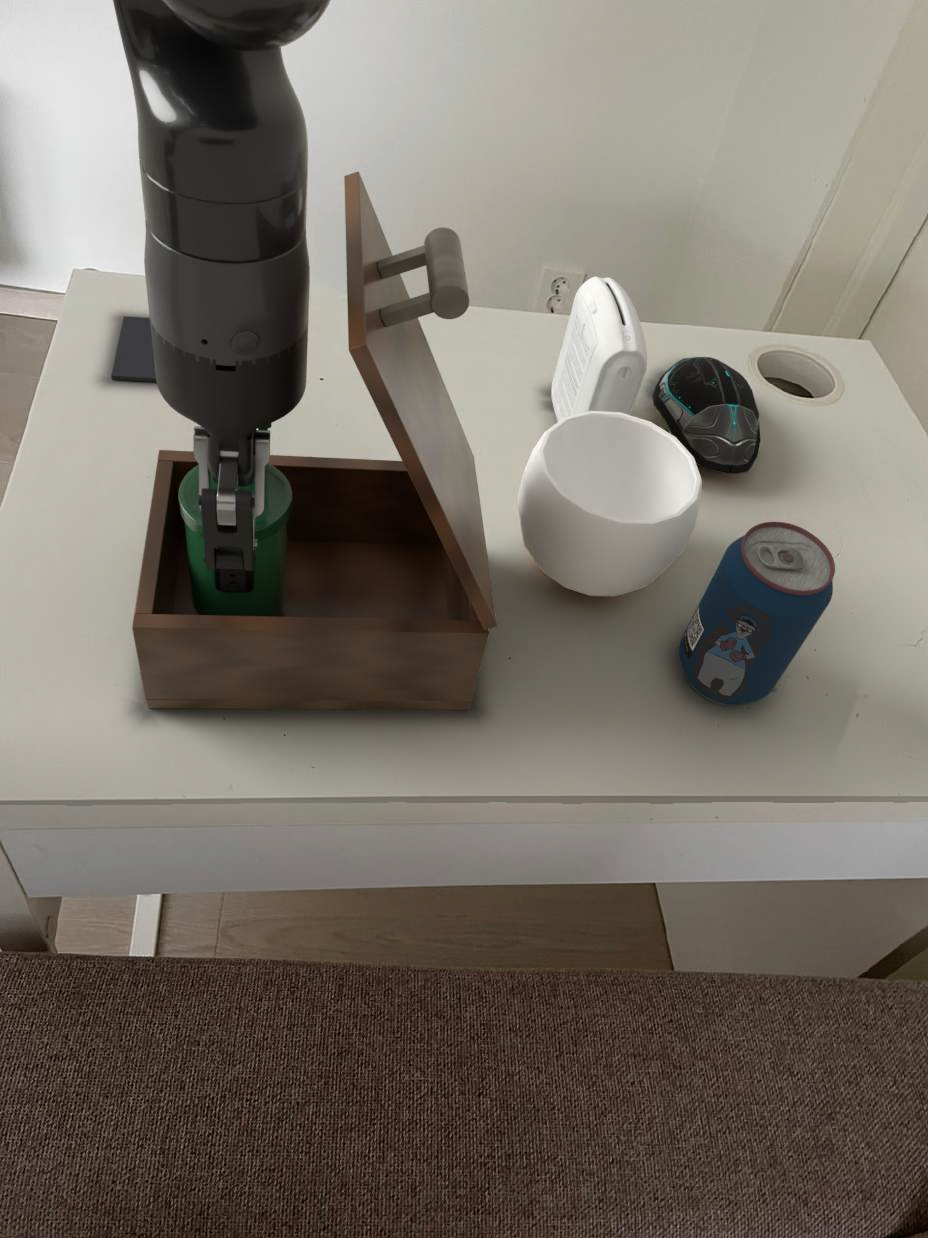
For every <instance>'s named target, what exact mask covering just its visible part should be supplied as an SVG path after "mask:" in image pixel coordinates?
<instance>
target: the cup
mask: <svg viewBox="0 0 928 1238" xmlns="http://www.w3.org/2000/svg"><path fill="white" fill-rule="evenodd" d="M702 486H703V478H702V476H701V473H700V471H699V468H698V464H697V463H696V462H695V459H694V457H693V456H692V455H691V454H690V453H689V451H688V450H687V449H686V448H685V447H684V446H683V445H682V444H681V443H680V441H679V440H678V439H677V438H676V437H675V436H674V435H673V434H671V433H670V432H668V431H666V430H665V429H664V428H662V427H660V426H658V425H656V424H655V423H654V422H651V421H650V420H646V419H643V418H640V417H637V416H635V415H632V414H631V415H627V414H624V413H621V412H603V411H588V412H584V413H580V414H576V415H572V416H568V417H564V418H563V419H561V420H560V421H559V422H556V423H555V424H554V425H553V424H552V426H550V428H548V429H546V430H545V431H544V432H543V434H542V435H541V437H540V439H539V440H538V442H537V443H536V444H535V446H534V447H533V449H532V450H531V453H530V456H529V458H528V461H527V463H526V466H525V468H524V470H523V474H522V477H521V482H520V485H519V490H518V494H517V498H516V501H517V502H516V503H517V508H518V517H519V524H520V529H521V535H522V541H523V546H524V547H525V548H526V550H527V552H528V553H529V555H530V556H531V557H532V559H533V560H534V561H535V563H536V564H537V565H538V567H539V568H540V570H541V571H542V572H543V574H544V575H546V576H548V577H549V578H550V579H552V580H553V581H555V582H556V583H558V584H559V585H560V586H562V587H563V588H565V589H567V590H571V591H573V592H576V593H579V594H583V595H587V596H589V597H616V596H621V595H625V594H628V593H631V592H635V591H637V590H639V589H643V588H646V587H648V586H650V585H651V584H652V583H654V581H656V580H657V578H658V577H659V576H661V574H662V573H664V572H665V571H666V570H667V569H668V568H669V567H670V566H671V565H672V564H673V563H674V562H675V561H676V560H677V559H678V558H679V557H680V556H681V555H682V554H683V553H684V552H685V549H686V548H687V545H688V544H689V540H690V538H691V536H692V534H693V532H694V529H695V528H696V524H697V519H698V515H699V512H700V511H699V510H700V507H701V498H702Z"/></svg>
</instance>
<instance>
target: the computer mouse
mask: <svg viewBox="0 0 928 1238" xmlns="http://www.w3.org/2000/svg"><path fill="white" fill-rule="evenodd" d="M652 400H653V406H654V407H655V408H656V409H657V411H658V412H659V413H660V415H661V416H662V418H663V420H664V422H665V423H666V425H667V427H668V429H669V431H670V432H671V433H672V435H673V436H675V437H676V438H677V439H678V440H679V441H680V443H681V444H682V445H683V446H684V447H685V448H686V449H687V450H688V451H689V453H690V454H691V455H692V456H693V457H694V459H695V462H696V465H697V466H699V467H700V468H702V469H706V470H709V471H713V472H716V473H717V472H718V473H721V474H730V475H739V474H743V473H748V472H749V471H750V470H751V468H752V466H753V464H754V463H755V462H756V460H757V459H758V455H759V450H760V446H761V440H762V439H761V438H762V437H761V429H760V412H759V409H758V407H757V402H756V400H755V396H754V392H753V389H752V388H751V385H750V383H748V380H747V379H746V378H745V377H744V376H743V375H742V374H741V373H740V372H739V371H737V370H736V369H734V368H732V367H731V366H729V365H728V364H726V363H725V362H723V361H721V360H719V359H718V358H713V357H709V356H693V357H684V358H681V359H680V360H678V361H677V362H675V363H674V364H672V365H671V366H670V367H669V368H668V369H667V370H665V372H664V373H663V374H662V375H661V377H660V378H659V380H658V381H657V383H656V385H655V387H654V390H653V393H652Z"/></svg>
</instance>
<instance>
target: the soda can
mask: <svg viewBox="0 0 928 1238" xmlns="http://www.w3.org/2000/svg"><path fill="white" fill-rule="evenodd" d="M835 574H836V564H835V560H834V557H833V555H832V553H831V552H830V550H829V548H828V547H827V545H825V544H824V542H823V541H821V540H820V538H818V536H816V535H814V534H813V533H811V532H810V531H808V530H806V529H804V528H802V527H800V526H798V525H797V524H792V523H789V522H785V521H784V522H783V521H767V522H765V521H764V522H761V523H758V524H756V525H753V526H752V527H751V528H750V529H748V530H747V531H746V533H745V534H744V535H742V536H740V537H739V538H736V539H735V540H733V541H732V542H731V543H730V545H728V546H727V548H726V549H725V551H724V553H723V555H722V558H721V559H720V561H719V563H718V565H717V567H716V569H715V572H713V575H712V577H711V579H710V581H709V583H708V585H707V588H706V589H705V591H704V593H703V595H702V597H701V599H700V601H699V603H698V605H697V607H696V609H695V610H694V613H693V614H692V617H691V618H690V620H689V622H688V624H687V627H686V628H685V631H684V632H683V634H682V636H681V638H680V641H679V645H678V658H679V659H678V660H679V663H680V666H681V669H682V672H683V674H684V677H685V678H686V680H687V682H688V683H689V685H690V686H691V688H692V689H693V690H694V691H695V692H697V694H699V695H700V696H702V698H705V699H706V700H709V701H711V702H713V703H715V704H719V705H723V706H741V705H747V704H751V703H754V702H757V701H760V700H762V699H764V698H766V697H767V696H768V695H769V694H771V692H772V691H773V690H774V689H775V687H776V686H777V684H778V682H779V681H780V680H781V678H782V676H783V674H784V673H785V672H786V670H787V669H788V667H789V665H790V664H791V663H792V661H793V659H794V658H795V656H796V655H797V653H798V652H799V650H800V649H801V647H802V646H803V644H804V643H805V642H806V639H807V638H808V636H809V635H810V634H811V632H812V631H813V629H814V627H815V626H816V625H817V623H818V622H819V620H820V619H821V617H822V615H823V614H824V612H825V610H826V609H827V608H828V607H829V604H830V603H831V601H832V599H833V594H834V592H833V591H834V582H833V580H834V577H835Z"/></svg>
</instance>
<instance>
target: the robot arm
mask: <svg viewBox="0 0 928 1238" xmlns="http://www.w3.org/2000/svg"><path fill="white" fill-rule="evenodd" d="M112 3H113V7H114V11H115V12H114V13H115V16H116V21H117V26H118V30H119V35H120V39H121V42H122V47H123V52H124V56H125V60H126V63H127V67H128V72H129V75H130V80H131V85H132V90H133V96H134V102H135V109H136V118H137V147H138V160H139V163H138V164H139V171H140V183H141V192H142V201H143V202H142V203H143V211H144V212H143V213H144V218H145V219H144V222H145V237H144V238H145V240H144V256H143V257H144V260H143V263H144V264H143V266H144V276H145V285H146V287H145V288H146V296H147V305H148V306H147V307H148V315H149V318H150V325H151V334H152V344H153V353H154V363H155V373H156V381H157V382H156V385H157V388H158V391H159V394H160V395H161V397H162V398H163V400H164V401H165V402H166V403H167V405H169V407H170V408H172V410H174V411H175V412H176V413H178V414H179V415H181V416H182V417H184V418H186V419H188V420H190V421H191V422H193V423H195V424H197V425H198V426H197V425H195V426H194V427H193V435H192V436H193V442H192V443H193V451H194V458H195V459H196V461H197V462H198V464H199V497H198V504H199V507H200V510H201V514H202V525H203V536H204V547H205V553H204V563H206V568H207V569H209V570H214V579H215V588H216V589H217V590H218V591H220V592H232V593H249V592H251V591H252V590H253V589H254V564H255V565H256V555H254V554H255V548H257V545H258V539H255V518H256V517H257V516H259V515H261V514H262V513H263V511H264V504H265V466H266V465H267V463H268V462H269V459H270V455H271V430H270V428H272V423H274V422H277V421H278V420H281V419H282V418H284V417H285V416H287V415H289V414H290V413H291V412H292V411H293V410H294V409H295V408H296V407H297V406H298V405H299V403H300V402H301V400H302V399H303V397H304V394H305V391H306V387H307V375H308V373H307V371H308V347H309V346H308V345H309V344H308V342H309V313H310V286H311V285H310V283H311V282H310V281H311V280H310V279H311V269H310V268H311V267H310V257H309V249H308V241H307V240H308V239H307V212H308V211H307V209H308V207H307V206H308V180H309V179H308V171H309V143H308V142H309V141H308V131H307V123H306V118H305V116H304V111H303V108H302V105H301V103H300V100H299V98H298V95H297V94H296V90H295V89H294V86H293V85H292V82H291V80H290V78H289V75H288V73H287V69H286V66H285V63H284V58H283V53H282V47H285V46H287V45H290V44H292V43H294V42H296V41H297V40H299V39H301V37H303V36H305V35H306V33H308V32H309V31H310V30H311V29H312V28H313V27H315V25H316V24H317V22H319V21H320V19H321V17H322V16H323V15H324V14H325V11H326V10H327V8H328V6H329V5H330V3H331V0H112ZM254 468H255V492H254V493H253V494H252V490H238V487H246V486H248V485H250V484H252V481H253V478H254ZM210 472H211V475H212V478H213V480H214V481H215V482H216V483H217V484H218V489H211V483H210Z"/></svg>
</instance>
